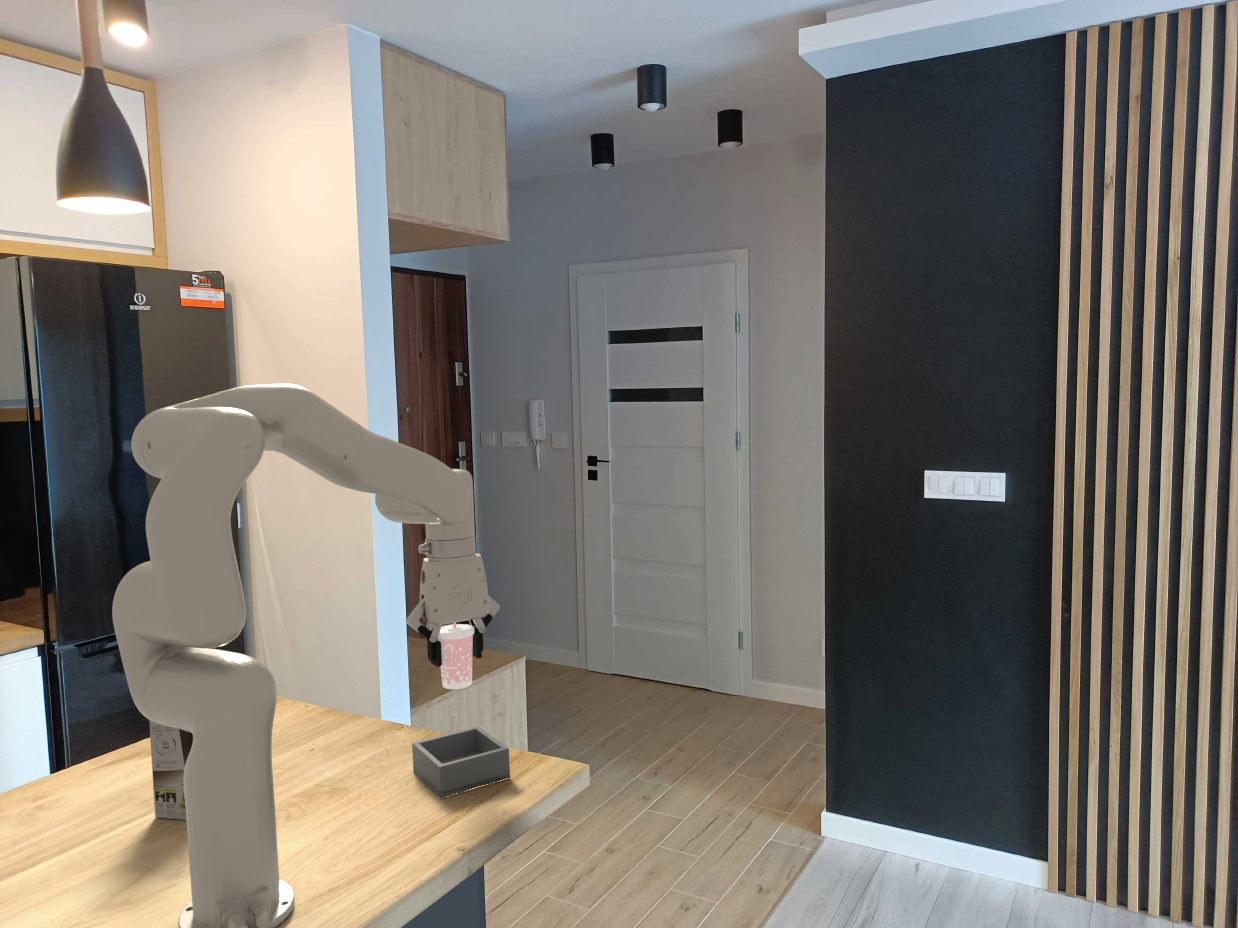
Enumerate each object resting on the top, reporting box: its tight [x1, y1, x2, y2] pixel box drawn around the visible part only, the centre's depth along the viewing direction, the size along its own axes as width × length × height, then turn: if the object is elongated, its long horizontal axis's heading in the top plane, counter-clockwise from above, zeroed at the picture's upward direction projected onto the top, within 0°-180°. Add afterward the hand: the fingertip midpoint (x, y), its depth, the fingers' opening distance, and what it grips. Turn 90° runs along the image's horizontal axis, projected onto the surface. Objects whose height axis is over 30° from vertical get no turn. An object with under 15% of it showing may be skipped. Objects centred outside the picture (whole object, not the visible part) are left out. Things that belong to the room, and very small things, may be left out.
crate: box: [411, 726, 511, 799], centre depth 141 cm, size 12×12×5 cm
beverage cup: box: [438, 622, 474, 690], centre depth 140 cm, size 6×6×14 cm
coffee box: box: [148, 719, 193, 821], centre depth 133 cm, size 9×6×16 cm
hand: (456, 659), depth 140 cm, fingers closed on beverage cup, 6 cm apart
